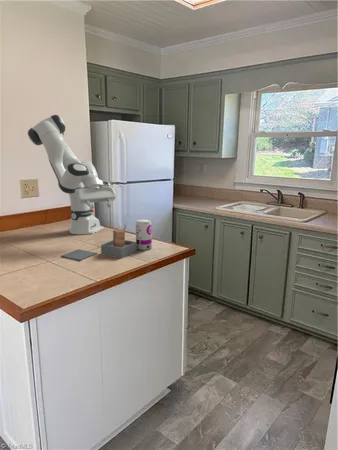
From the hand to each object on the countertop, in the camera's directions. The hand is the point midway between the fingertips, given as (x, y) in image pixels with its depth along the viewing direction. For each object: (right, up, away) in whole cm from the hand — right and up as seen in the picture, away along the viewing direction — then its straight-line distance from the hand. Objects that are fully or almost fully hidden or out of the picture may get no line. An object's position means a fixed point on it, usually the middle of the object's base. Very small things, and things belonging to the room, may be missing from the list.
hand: (100, 207), depth 173 cm
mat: (-9, -24, -10) cm, 27 cm away
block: (+10, -20, -6) cm, 23 cm away
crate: (+10, -24, -5) cm, 26 cm away
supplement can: (+22, -22, +3) cm, 31 cm away
